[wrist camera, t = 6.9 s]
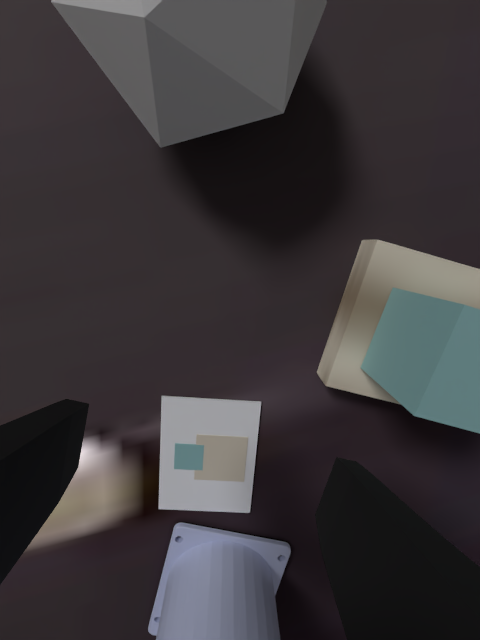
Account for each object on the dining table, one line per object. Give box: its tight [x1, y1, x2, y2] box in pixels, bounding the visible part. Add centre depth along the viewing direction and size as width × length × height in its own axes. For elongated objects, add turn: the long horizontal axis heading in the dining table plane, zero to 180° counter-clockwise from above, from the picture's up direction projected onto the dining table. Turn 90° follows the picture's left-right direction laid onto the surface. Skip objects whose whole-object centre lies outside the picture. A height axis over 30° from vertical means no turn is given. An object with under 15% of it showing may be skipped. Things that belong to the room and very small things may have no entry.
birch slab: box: [317, 240, 480, 404], centre depth 18 cm, size 8×8×2 cm
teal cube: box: [361, 287, 480, 433], centre depth 14 cm, size 4×4×5 cm
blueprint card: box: [159, 396, 261, 513], centre depth 20 cm, size 8×6×1 cm
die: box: [51, 0, 327, 148], centre depth 12 cm, size 8×9×10 cm
